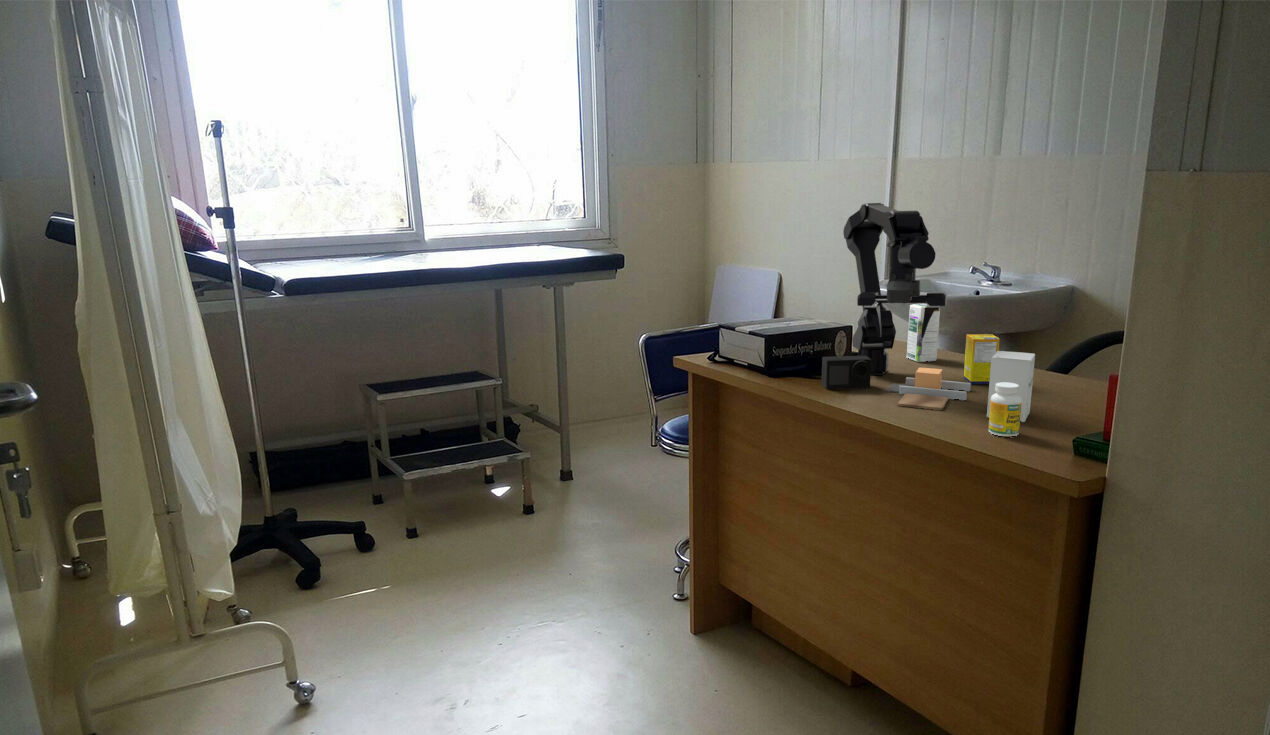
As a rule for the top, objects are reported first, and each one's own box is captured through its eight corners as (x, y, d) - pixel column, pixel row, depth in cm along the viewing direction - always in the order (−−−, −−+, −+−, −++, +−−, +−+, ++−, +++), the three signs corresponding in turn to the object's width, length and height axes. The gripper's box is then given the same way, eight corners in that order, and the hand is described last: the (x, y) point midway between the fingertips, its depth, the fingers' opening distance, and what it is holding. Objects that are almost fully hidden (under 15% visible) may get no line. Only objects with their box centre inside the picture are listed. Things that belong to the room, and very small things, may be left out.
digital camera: (827, 391, 189) (828, 361, 187) (820, 385, 194) (821, 356, 192) (872, 389, 189) (873, 360, 187) (864, 383, 194) (865, 355, 193)
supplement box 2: (1025, 423, 162) (1031, 360, 159) (985, 418, 166) (990, 356, 163) (1030, 413, 168) (1036, 353, 165) (991, 408, 172) (996, 349, 169)
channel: (898, 394, 184) (899, 386, 184) (906, 384, 192) (906, 377, 192) (965, 400, 178) (966, 392, 178) (970, 390, 186) (970, 382, 186)
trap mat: (886, 391, 187) (886, 390, 187) (892, 384, 193) (892, 383, 193) (908, 393, 184) (909, 392, 184) (914, 386, 191) (914, 385, 190)
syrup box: (905, 358, 219) (908, 304, 216) (925, 356, 221) (928, 302, 217) (917, 362, 214) (920, 307, 211) (937, 361, 215) (941, 306, 212)
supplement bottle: (1000, 427, 159) (1004, 379, 157) (1025, 435, 155) (1029, 385, 152) (981, 432, 157) (985, 383, 154) (1006, 440, 152) (1010, 389, 150)
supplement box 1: (988, 378, 196) (992, 333, 194) (996, 385, 190) (1000, 338, 188) (962, 378, 197) (965, 333, 194) (970, 384, 191) (973, 338, 189)
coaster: (897, 406, 175) (897, 403, 175) (905, 395, 183) (905, 393, 183) (942, 410, 171) (942, 407, 171) (947, 400, 179) (948, 397, 179)
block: (914, 393, 185) (915, 372, 184) (918, 388, 189) (919, 367, 188) (937, 396, 183) (939, 374, 182) (941, 390, 187) (942, 369, 186)
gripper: (853, 269, 180) (853, 340, 183) (944, 268, 173) (942, 342, 175) (861, 267, 190) (860, 335, 193) (947, 266, 183) (945, 336, 185)
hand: (901, 337), depth 186 cm, fingers open, 9 cm apart
